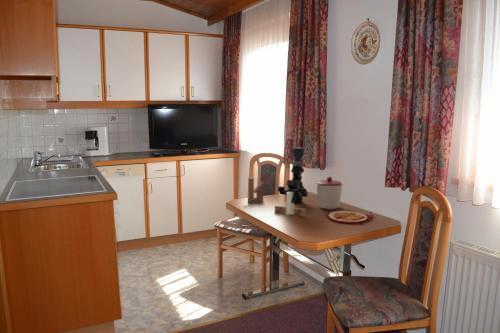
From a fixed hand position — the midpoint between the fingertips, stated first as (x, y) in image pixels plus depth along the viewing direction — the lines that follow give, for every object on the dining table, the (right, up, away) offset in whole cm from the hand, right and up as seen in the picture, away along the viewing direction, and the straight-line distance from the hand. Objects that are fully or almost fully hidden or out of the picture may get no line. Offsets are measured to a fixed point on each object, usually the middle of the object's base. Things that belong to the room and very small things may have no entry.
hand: (289, 202), depth 253 cm
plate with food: (+35, -10, -8) cm, 37 cm away
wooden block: (-20, -3, +35) cm, 41 cm away
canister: (+28, -5, +19) cm, 35 cm away
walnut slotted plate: (+1, -8, +2) cm, 8 cm away
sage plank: (+1, -7, +2) cm, 7 cm away
